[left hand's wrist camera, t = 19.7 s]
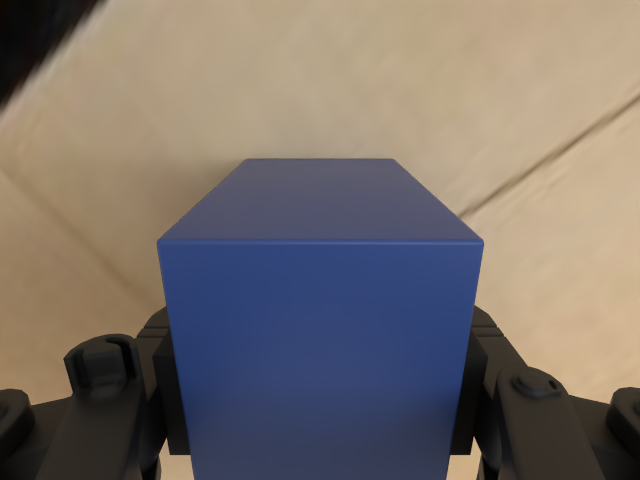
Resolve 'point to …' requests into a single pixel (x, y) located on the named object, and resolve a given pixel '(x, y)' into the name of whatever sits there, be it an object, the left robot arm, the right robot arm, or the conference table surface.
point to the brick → (320, 322)
